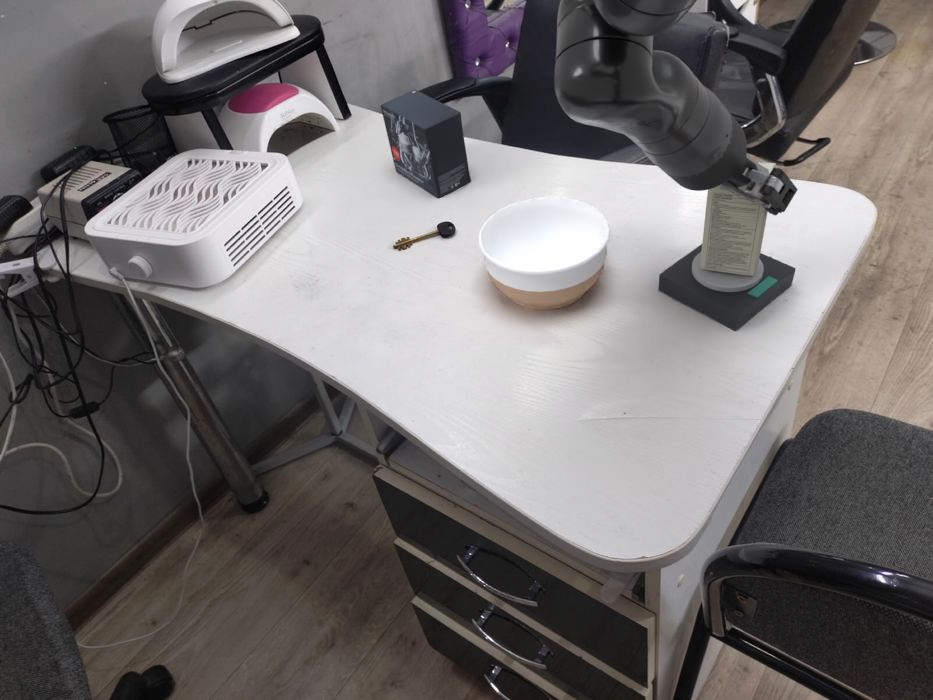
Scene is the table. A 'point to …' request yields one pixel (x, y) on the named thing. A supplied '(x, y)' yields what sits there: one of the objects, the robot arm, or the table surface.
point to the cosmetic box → (733, 231)
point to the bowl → (545, 250)
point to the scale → (725, 288)
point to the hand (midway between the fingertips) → (746, 193)
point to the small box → (426, 142)
